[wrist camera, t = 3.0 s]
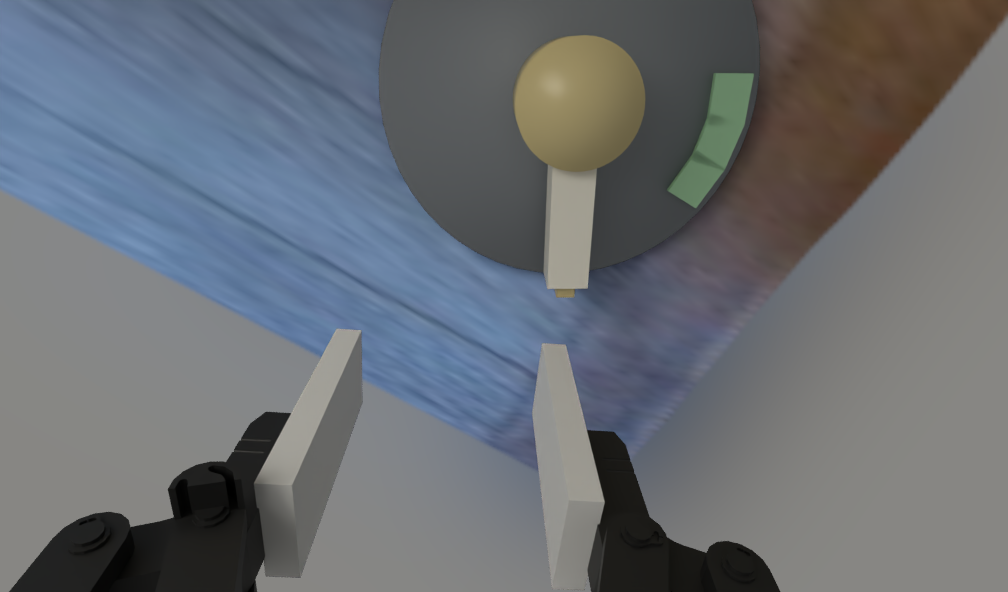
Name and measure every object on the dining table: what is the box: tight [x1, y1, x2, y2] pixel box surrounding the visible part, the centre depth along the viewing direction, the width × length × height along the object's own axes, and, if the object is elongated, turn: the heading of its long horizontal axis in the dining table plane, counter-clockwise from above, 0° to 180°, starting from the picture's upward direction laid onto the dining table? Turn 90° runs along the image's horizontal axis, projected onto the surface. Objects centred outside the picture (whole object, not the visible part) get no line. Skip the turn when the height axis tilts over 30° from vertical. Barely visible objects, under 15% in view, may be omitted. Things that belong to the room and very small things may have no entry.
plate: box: [379, 0, 760, 272], centre depth 29 cm, size 20×20×2 cm
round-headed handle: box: [513, 35, 645, 297], centre depth 29 cm, size 13×6×4 cm, turn 0°
